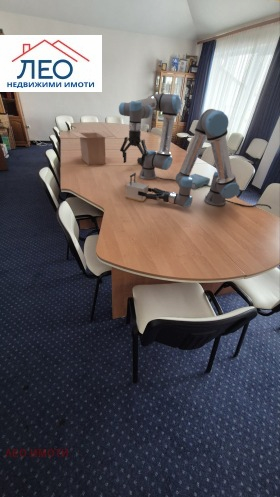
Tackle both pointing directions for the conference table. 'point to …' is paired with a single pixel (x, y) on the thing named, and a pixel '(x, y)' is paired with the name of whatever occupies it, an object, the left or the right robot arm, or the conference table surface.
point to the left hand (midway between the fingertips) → (133, 164)
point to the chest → (135, 193)
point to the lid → (135, 184)
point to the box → (92, 146)
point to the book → (199, 180)
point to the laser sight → (139, 159)
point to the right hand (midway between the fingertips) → (141, 190)
